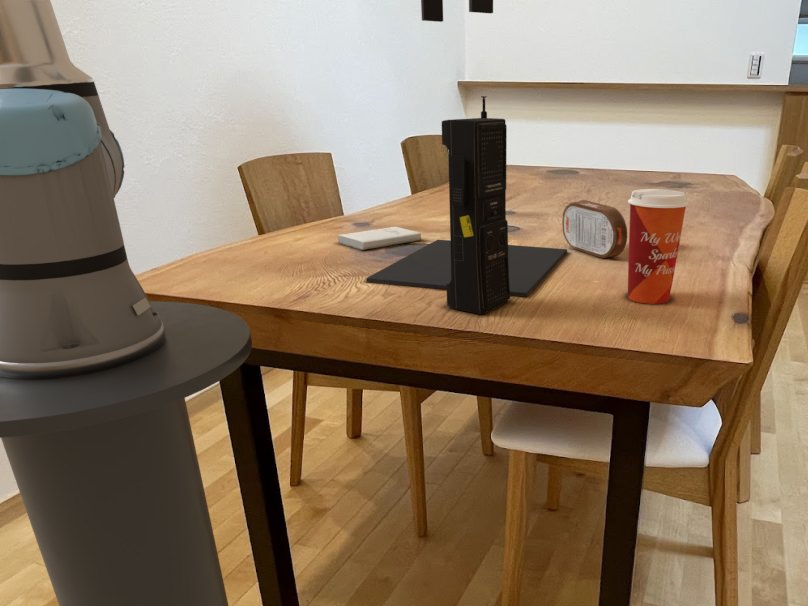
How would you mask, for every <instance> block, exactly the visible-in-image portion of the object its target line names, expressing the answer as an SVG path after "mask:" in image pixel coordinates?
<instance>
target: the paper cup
mask: <svg viewBox="0 0 808 606" xmlns="http://www.w3.org/2000/svg"><path fill="white" fill-rule="evenodd" d="M630 195H631V196H630V198H629V199H628V201H627V203H628V204H629V230H628V231H629V232H628V233H629V234H628V261H627V263H628V265H627V266H628V268H627V298H628V299H629V300H630V301H633V302H636V303H639V304H640V303H641V304H648V305H658V304H664V303H667V302H668V301H669V300H670V296H671V293H672V286H673V282H674V277H675V270H676V264H677V258H678V253H679V248H680V242H681V236H682V231H683V225H684V219H685V214H686V208H687V207H688V206H689V205H690V204H689V201H688V200H687V196H686V193H685V192H684V191H679V190H673V189H665V188H663V189H662V188H643V189H642V188H640V189H635V190H632V192H631V194H630Z"/></svg>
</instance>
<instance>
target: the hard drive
mask: <svg viewBox="0 0 808 606" xmlns="http://www.w3.org/2000/svg"><path fill="white" fill-rule="evenodd" d="M421 240H422V233H420V232H419V231H416V230H411V229H407V228H404V227H399V226H391V227H384V228H376V229H369V230H363V231H355V232H349V233H343V234H342V233H341V234H338V235H337V242H338V244H340V245H343V246H347V247H350V248H354V249H356V250H360V251H365V250H373V249H377V248H383V247H389V246H390V247H391V246H396V245H401V244H406V243H407V244H408V243H413V242H418V241H421Z"/></svg>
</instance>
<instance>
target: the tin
mask: <svg viewBox="0 0 808 606" xmlns="http://www.w3.org/2000/svg"><path fill="white" fill-rule="evenodd" d="M561 222H562V234H563V237H564V238H565V241H566V242H567V244H568V245H569V247H571V248H572V249H574V250H577V251H579V252H582V253H586V254H588V255H591V256H594V257H597V258H601V259H607V258H611V257H613V258H614V257H618V256H620V255H621V254H622V253H623V251H624V250H625V248H626V246H627V242H628V227H627V224H626V220H625V218H624V216H623V215H622V213H621V212H620V211H619V210H618V209H617V208H615V207H614V206H611V205H607V204H603V203H599V202H594V201H591V200H588V199H581V200H578V201H574V202H570V203H568V204H567V205H566V206H565V208H564V209H563V212H562V221H561Z"/></svg>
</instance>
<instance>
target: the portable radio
mask: <svg viewBox="0 0 808 606" xmlns="http://www.w3.org/2000/svg"><path fill="white" fill-rule="evenodd" d="M480 97H481V99H482V111H480V117H475V118H474V117H473V118H456V119H445V120H442V121H441V145H443V146H445V147H446V149H447V153H448V157H447V158H448V193H449V195H448V196H449V200H448V201H449V235H450V236H449V237H450V240H451V281H450V283H448V284H446V286H447V290H446V305H447V306H448V307H449V308H451V309H455V310H458V311H463V312H468V313H473V314H477V315H484V314H486V313H488V312H490V311H492V310H494V309H496V308H498V307H501V306H503V305H504V304H506V303H508V302H509V300H510V299H511V296H510V287H509V264H508V245H509V225H508V224H509V223H508V220H507V210H506V209H507V207H506V198H507V197H506V196H507V195H506V193H507V192H506V191H507V145H508V144H507V139H508V138H507V136H508V135H507V133H508V132H507V131H508V129H507V124H506V119H505V118H497V117H496V118H494V117H492V118H491V117H488V112H487V111H486V98H487V97H488V96H487V95H485V96H483V95H481V96H480Z"/></svg>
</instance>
